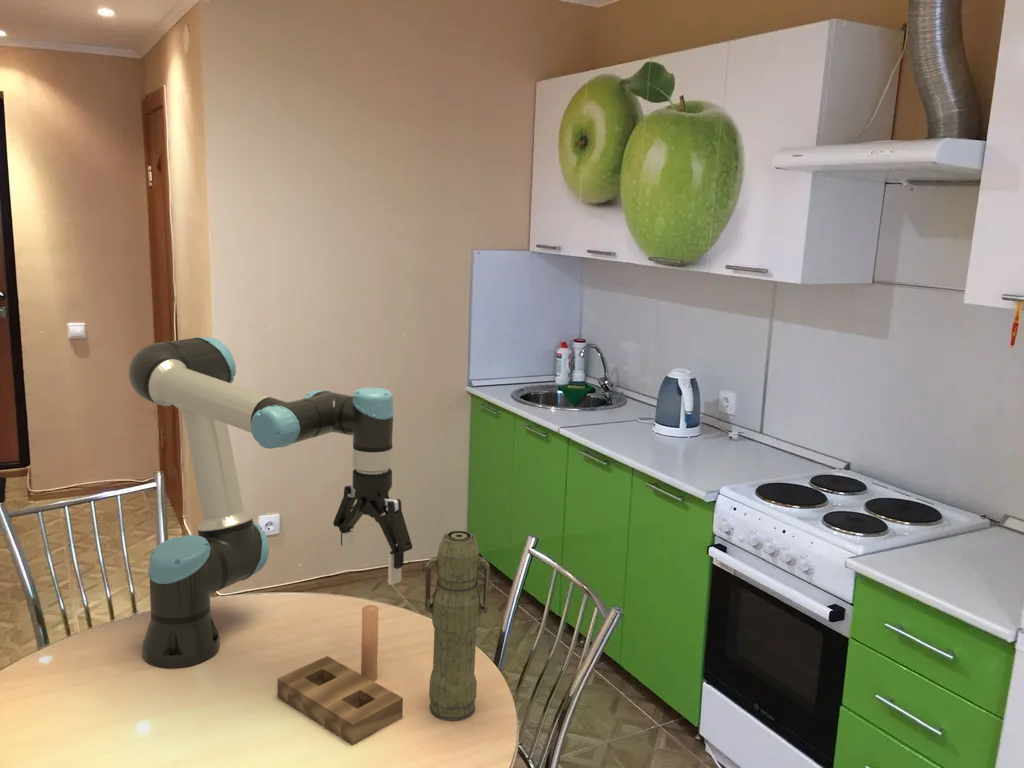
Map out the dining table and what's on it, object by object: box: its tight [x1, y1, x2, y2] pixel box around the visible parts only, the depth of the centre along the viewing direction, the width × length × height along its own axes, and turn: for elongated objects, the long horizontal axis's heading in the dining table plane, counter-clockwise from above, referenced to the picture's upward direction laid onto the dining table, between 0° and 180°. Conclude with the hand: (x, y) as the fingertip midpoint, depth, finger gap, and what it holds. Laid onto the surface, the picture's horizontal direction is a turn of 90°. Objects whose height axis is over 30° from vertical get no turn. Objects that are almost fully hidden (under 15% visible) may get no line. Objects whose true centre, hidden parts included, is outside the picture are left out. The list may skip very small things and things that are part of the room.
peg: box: [360, 604, 380, 682], centre depth 176 cm, size 3×3×15 cm
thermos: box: [424, 530, 491, 722], centre depth 165 cm, size 9×12×35 cm
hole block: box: [276, 655, 404, 746], centre depth 166 cm, size 22×12×4 cm, turn 51°
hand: (371, 572), depth 173 cm, fingers open, 13 cm apart
